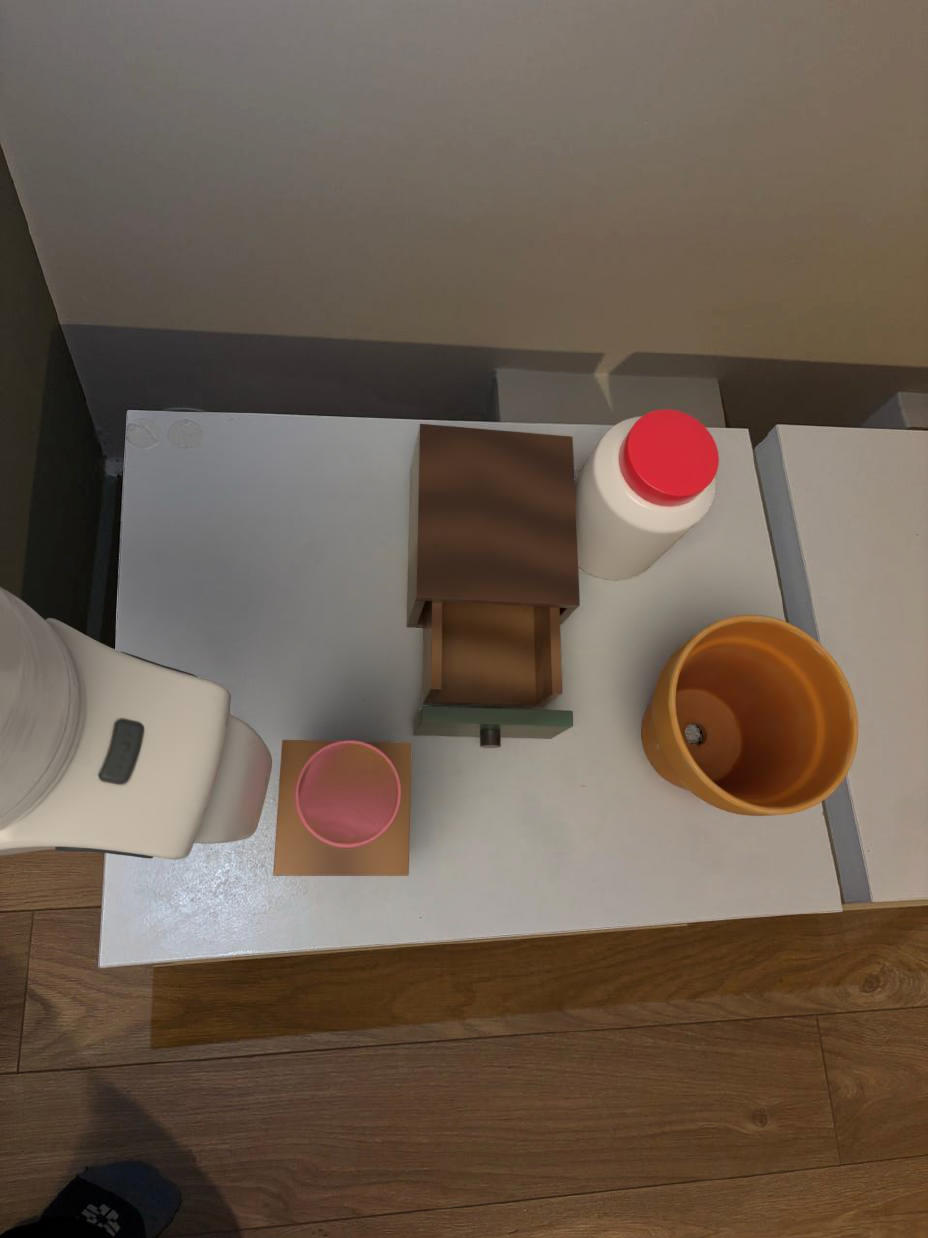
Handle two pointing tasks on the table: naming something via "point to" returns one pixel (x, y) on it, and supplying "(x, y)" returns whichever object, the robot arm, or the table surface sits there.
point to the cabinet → (492, 520)
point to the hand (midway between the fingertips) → (74, 769)
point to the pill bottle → (643, 492)
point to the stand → (313, 858)
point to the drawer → (491, 672)
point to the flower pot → (753, 718)
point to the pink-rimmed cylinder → (348, 794)
